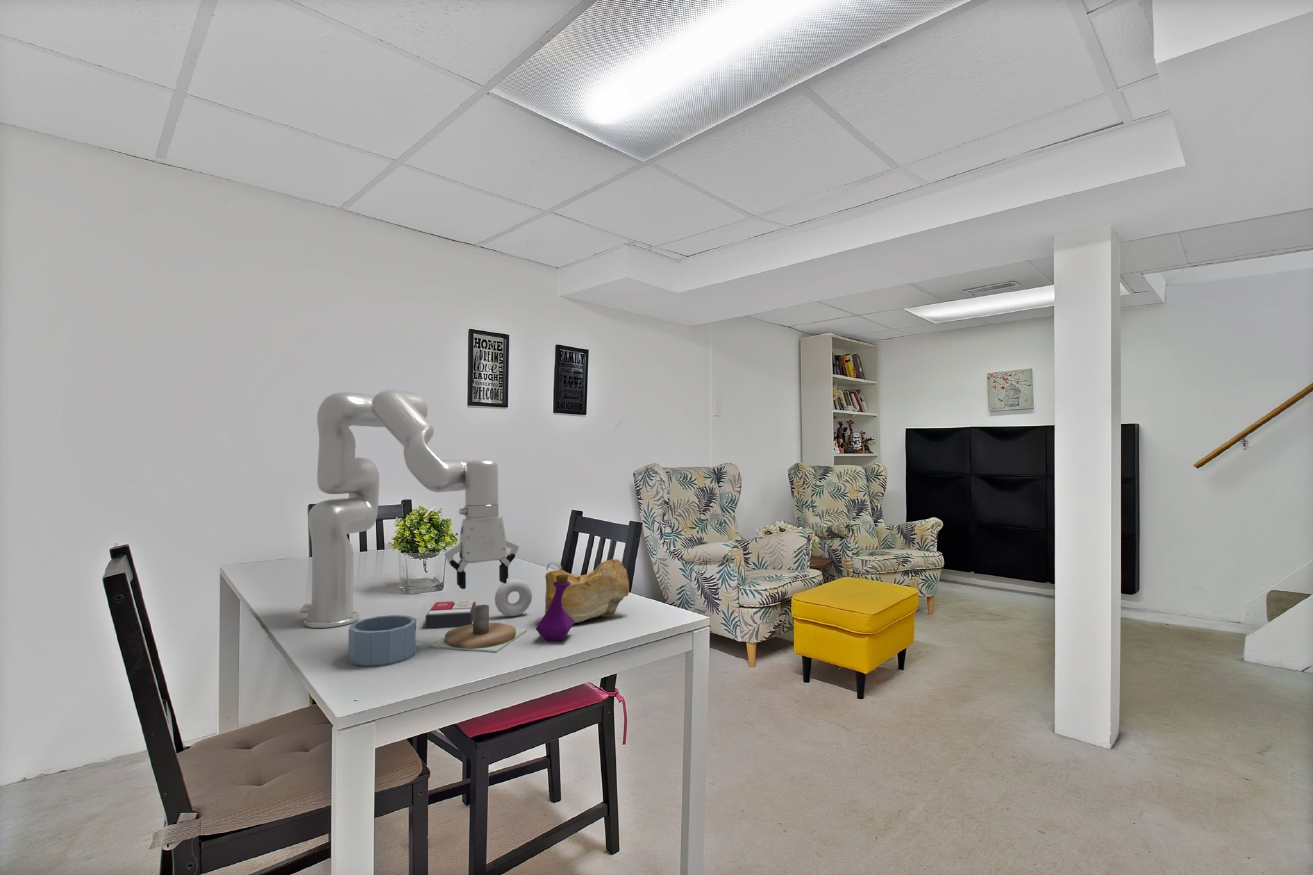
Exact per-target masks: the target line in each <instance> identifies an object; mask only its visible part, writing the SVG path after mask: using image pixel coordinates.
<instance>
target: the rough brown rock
mask: <svg viewBox="0 0 1313 875" xmlns="http://www.w3.org/2000/svg"><path fill="white" fill-rule="evenodd" d="M562 572H563V574H567V575H569V577H568V580H567V581H568V582H570V586H567V588H566V589H565V590H564V593H563V596H562V607H563V609H564V610H565V611H566V613H567V614H568V615H569V616H570V617H571V618H572V619H573V620H574V623H573V624H577V623H582V622H584V621H586V620H589V619H593V618H597V617H600V616H601V617H603V618H608V617H609V618H610V617H612V616H613V615H615V613H616V611H617V608H618V606H619V604H620V602H622V601H623V600H624V598H626V597H627V596H628V595H629V593H630V581H629V576H628V572H627V569H626V568H625V567H624V565H623V562H622V561H621V560H620V559H617V558H611V559H609V560H604V561H602V562H600V563H599V564H598V565H597V567H595V569H594V570H593V571H591V572H589V573H587V574H582V575H578V576H576V575H574V574H572V573H569V572H567V571H565V570H563V569H562V571H561V569H555V570H550V571H549V570H548V571H547V572H546V573H545V576H544V577H545V600H544V601H545V608H544V609H545V610H544V613H546V612H547V610H548V608H549V606H550V604H551V602H552V600H553V598H554V595H555V592H556V587H555V586H554V585H553V583H554V582H556V581H557V580H556V577H557V576H558V575H562Z"/></svg>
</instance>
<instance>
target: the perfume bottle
mask: <svg viewBox="0 0 1313 875" xmlns="http://www.w3.org/2000/svg"><path fill="white" fill-rule="evenodd" d="M551 564H552V565H555V566H557V568H558V569H559V570H561V571H562V570H563V569H562V565H561V564H560V563H559V562H558V561H551V562H548V564H547V566H546V571H549V570H548V569H549V567H550V566H551ZM568 577H569V575H567V574H563V572H562V575H558V576H557V577H556V580H557V581H556V582H554V583H553V585H554V586H555V587H556V592H555V595H554V598H553V600H552V602H551V604H550V606H549V608H548V610H547V612H546V613H545V612H544V613H545V614H544V615H543V617H541V620H540V621H539V623H538V624H537V626H536V627H535V630H536V632H537V633H538V634H539V635H540V636H541V638H542V640H544V642H563V641H562V640H565V638H566V637H567V635H568V634H569V632H570V630H571V629H572V626H574V624H575V623H574V620H573V619H572V618H571V617H570V616H569V615H568V614H567V613H566V611H565V610H564V609H563V607H562V596H563V593H564V590H565V589H566V588H567V586H570V582H568V581H567V580H568Z"/></svg>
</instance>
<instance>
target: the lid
mask: <svg viewBox="0 0 1313 875" xmlns="http://www.w3.org/2000/svg"><path fill="white" fill-rule="evenodd" d="M516 629H517V628H516V627H515V626H514V625H510V624H506V623H501V622H490V605H488V604H478V605H476V606H474V607H473V622H472V624H470V625H464V626H460V627H454V628H452V629H450V630H448V631H447V632H446V633H445V634H444V638H445V643H446V644H447V645H449V646H452V647H457V648H486V647H492V646H497V645H501V644H504V643H507V642H509V641H511V640H513V639H514V638H515V636H516Z"/></svg>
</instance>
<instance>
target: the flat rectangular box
mask: <svg viewBox="0 0 1313 875" xmlns="http://www.w3.org/2000/svg"><path fill="white" fill-rule="evenodd" d="M476 604H477V603H476V601H474V600H456V601H455V602H454V601H453V600H451V601H436V602H435V603H434V604H433V605H432V607H431V608H430V610H428V612H427V613H426V615H425V629H426V630H435V629H450V628H452V629H454V628H457V627H460V626H464V625H470V624H473V607H474V606H477V605H476Z"/></svg>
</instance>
